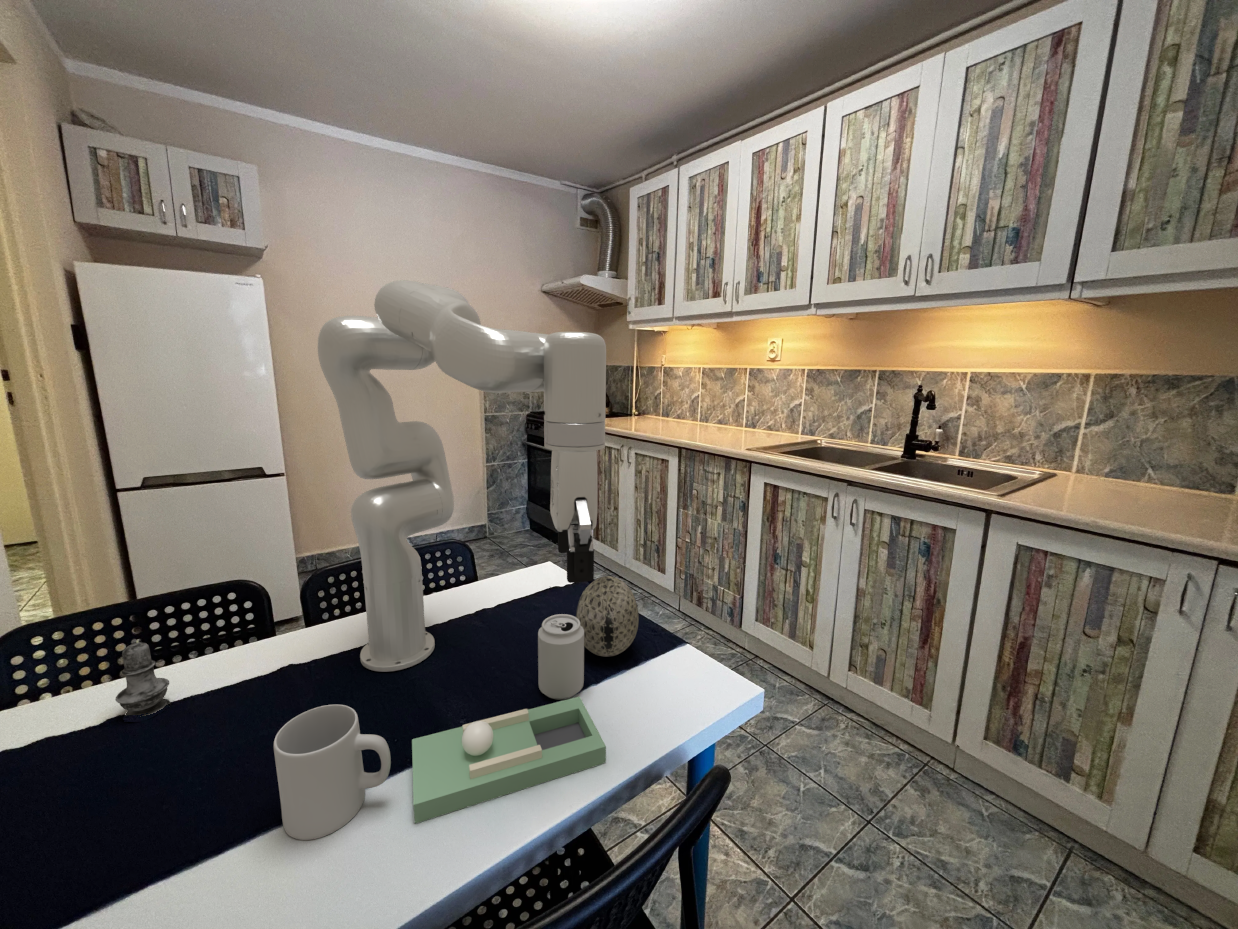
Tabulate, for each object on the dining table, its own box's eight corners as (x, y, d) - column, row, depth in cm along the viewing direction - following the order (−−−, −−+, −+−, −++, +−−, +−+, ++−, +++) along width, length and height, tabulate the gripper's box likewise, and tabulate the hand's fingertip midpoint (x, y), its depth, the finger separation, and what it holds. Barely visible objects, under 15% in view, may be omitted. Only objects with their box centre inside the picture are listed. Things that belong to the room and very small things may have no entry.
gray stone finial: (180, 705, 76) (168, 634, 74) (131, 729, 71) (116, 654, 68) (161, 693, 78) (148, 625, 76) (111, 717, 73) (96, 643, 71)
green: (413, 756, 67) (411, 731, 66) (579, 711, 76) (579, 689, 76) (414, 824, 57) (412, 796, 56) (605, 762, 67) (606, 738, 66)
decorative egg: (635, 635, 98) (637, 565, 96) (639, 671, 87) (642, 592, 84) (577, 635, 98) (577, 565, 95) (573, 671, 87) (574, 592, 84)
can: (576, 706, 78) (576, 637, 75) (531, 699, 79) (530, 631, 77) (588, 677, 85) (589, 614, 82) (547, 671, 86) (547, 608, 84)
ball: (460, 745, 66) (459, 718, 65) (491, 736, 67) (490, 711, 67) (464, 767, 62) (462, 739, 61) (496, 757, 64) (495, 730, 63)
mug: (267, 845, 54) (255, 759, 52) (305, 781, 63) (296, 705, 60) (381, 834, 56) (374, 750, 54) (403, 774, 64) (398, 699, 62)
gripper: (539, 427, 68) (540, 544, 71) (551, 446, 52) (552, 597, 55) (592, 427, 70) (591, 541, 73) (620, 445, 53) (617, 592, 57)
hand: (574, 565), depth 64 cm, fingers open, 9 cm apart
